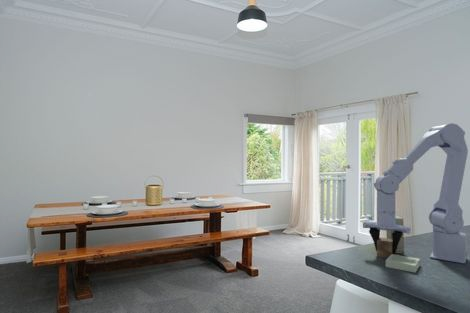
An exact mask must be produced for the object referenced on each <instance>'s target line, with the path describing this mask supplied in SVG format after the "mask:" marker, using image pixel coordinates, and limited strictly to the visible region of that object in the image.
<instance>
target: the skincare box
mask: <svg viewBox="0 0 470 313" xmlns="http://www.w3.org/2000/svg"><path fill="white" fill-rule="evenodd" d="M395 224H396V225H401V226H404V218H403V217H401V216H399V215H395ZM385 231H386V238H388V239H393V238H392V233H393V232H394V231H387V230H385ZM404 234H405V233H403V235H402V237H401V239H400V241H399V243H398V246H397V250H396V254H404V253H405V243H404V242H405V241H404V238H405V237H404V236H405V235H404Z"/></svg>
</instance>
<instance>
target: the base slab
mask: <svg viewBox="0 0 470 313" xmlns="http://www.w3.org/2000/svg"><path fill="white" fill-rule="evenodd" d="M420 266H421V259H420V258H418V257H410V256H405V255H399V254H395V255H394V254H391V255H390V256H389V257H388V258H385V267H386V268H389V269H395V270H399V271H405V272H409V273H410V272H411V273H417V271H418V269H419V268H420Z"/></svg>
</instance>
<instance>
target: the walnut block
mask: <svg viewBox="0 0 470 313" xmlns="http://www.w3.org/2000/svg"><path fill="white" fill-rule="evenodd" d="M391 254H393V239H388V238H387V237H379V239H378V240H377V251H376V257H378V258H383V259H387V258H388V257H389V256H390V255H391ZM394 255H396V254H394Z"/></svg>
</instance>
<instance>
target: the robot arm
mask: <svg viewBox="0 0 470 313" xmlns="http://www.w3.org/2000/svg"><path fill="white" fill-rule="evenodd" d="M465 135H466V131H465V130H464V129H463V128H462V127H460V126H459V125H458V124H457V123H452V122H451V123H447V124H441V125H434V126H432V127H431V128H430V129H429V130H428V131H426V132H425V133H423V135H422V137H421V138H420V139H419V140H418V141H417V143H416V144H415V145H414V146H413V147H412V149H410V151H408V153H407V154H406V156H404V157H403V158H398V159H394V160H393V161H392V165H391V166H390V167H389V168H388V169H386V170H385V171H383V172H382V174H383V175H380V176H378V177H377V178H376V179H375V182H373V186H374V189H375V190H376V221H362V228H363V229H369V231H368V232H369V235H370V237H371V239H372V241H373V243H374V248H375V252H377V240H378V239H379V238H380V235H381V231H386V230H387V231H394V232H393V233H392V238H393V254H395V255H397V253H396V250H397V246H398V243H399V241H400V239H401V237H402V235H403V233H404V234H407V235H410V234H411V232H412V231H411V229H412V227H411V226H407V225H403V226H401V225H396V224H395V216H396V192H397V191H399V188H400V184H401V183H402V182H403V181H404V180H405V179H406V178H407V177H408V175H410V174H411V173H412V172H413V170H414V165H415V163H416V162H418V160H419V159H420V158H422V157H423V156H424V155H425V154H426V153H427V152H428V151H430V150H431V148H434V147H439V149H441V150H442V151H443V152H444V153H445V154H446V160H445V165H444V170H443V176H442V182H441V188H440V192H439V197H438V200H437V201H436V202H435V203H434V204H433V208H432V210H431V211H430V213H429V215H428V220H429V223H430V224H431V225H432V252H431V253H430V256H429V258H430V259H437V260H440V261H441V260H442V261H447V262H454V263H460V264H466V262H467V257H468V250H467V233H465V232H460V231H461V230H463V228H464V223H465V221H464V219H463V212H464V211H463V208H462V207H461V206H460V204H459V201H460V196H461V192H462V185H463V180H464V175H465V170H466V169H465V168H466V164H467V159H468V151H469V150H468V146H467V143H466V140H465Z"/></svg>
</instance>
